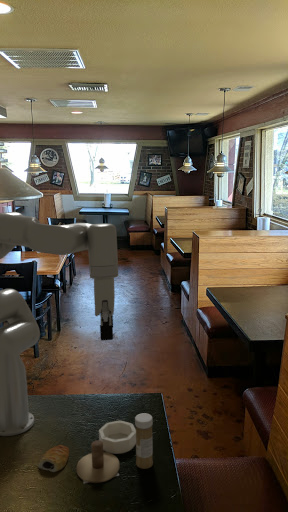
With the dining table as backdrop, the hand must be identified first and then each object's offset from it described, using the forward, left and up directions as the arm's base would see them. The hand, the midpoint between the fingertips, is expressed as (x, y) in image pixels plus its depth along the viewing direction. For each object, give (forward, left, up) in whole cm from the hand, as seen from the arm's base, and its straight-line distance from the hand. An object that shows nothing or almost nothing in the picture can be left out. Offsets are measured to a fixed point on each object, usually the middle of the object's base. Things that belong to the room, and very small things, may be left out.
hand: (107, 333), depth 111 cm
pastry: (-16, -2, -34) cm, 37 cm away
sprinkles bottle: (+7, -10, -34) cm, 36 cm away
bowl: (+2, +1, -33) cm, 34 cm away
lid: (-5, -8, -33) cm, 34 cm away
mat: (-5, -8, -33) cm, 35 cm away
